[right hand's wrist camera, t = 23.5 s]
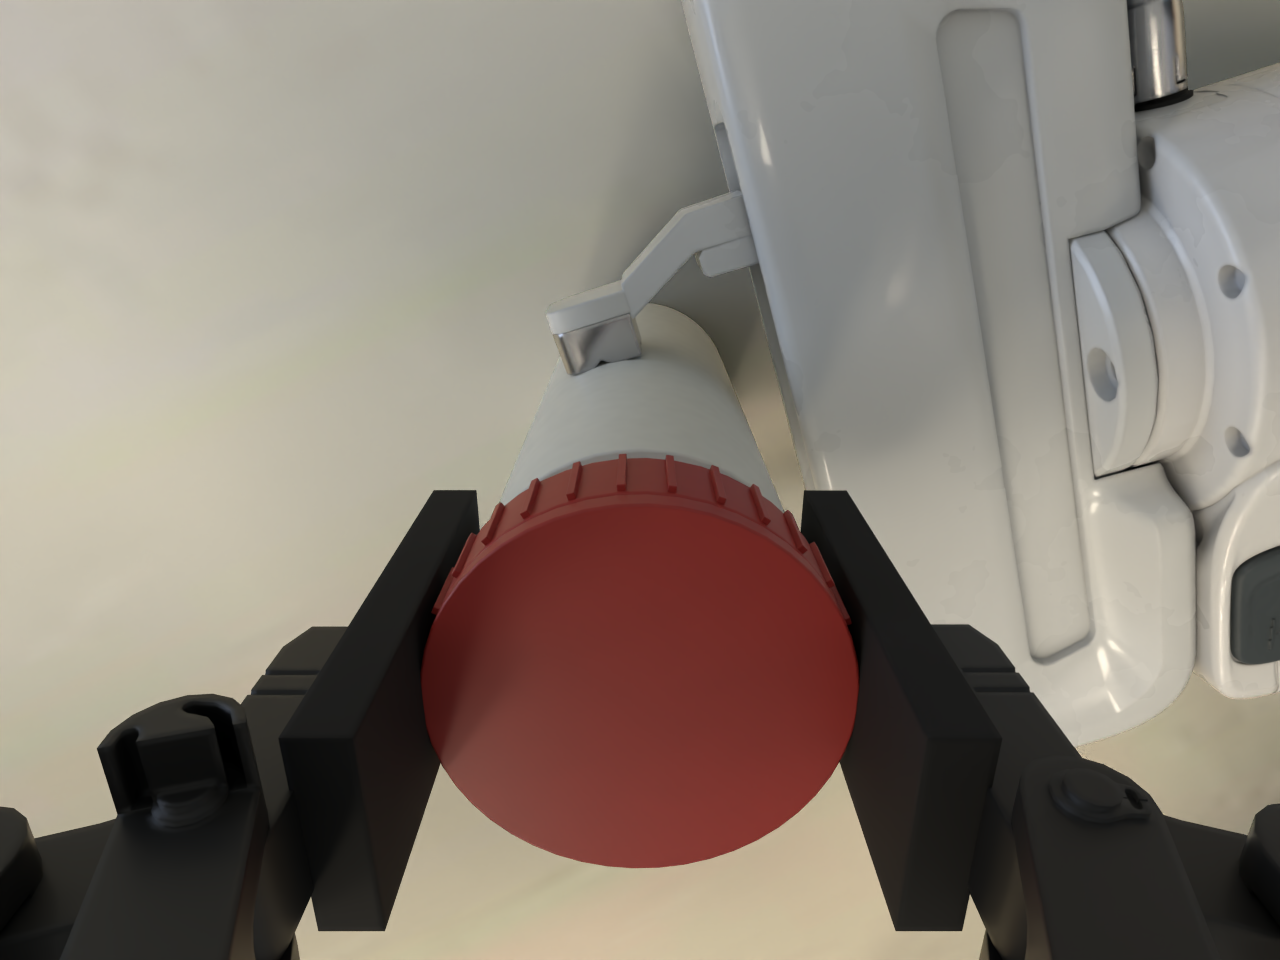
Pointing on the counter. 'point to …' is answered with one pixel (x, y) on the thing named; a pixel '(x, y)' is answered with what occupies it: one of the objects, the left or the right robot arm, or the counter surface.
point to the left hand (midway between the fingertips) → (605, 475)
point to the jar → (645, 411)
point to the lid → (639, 665)
